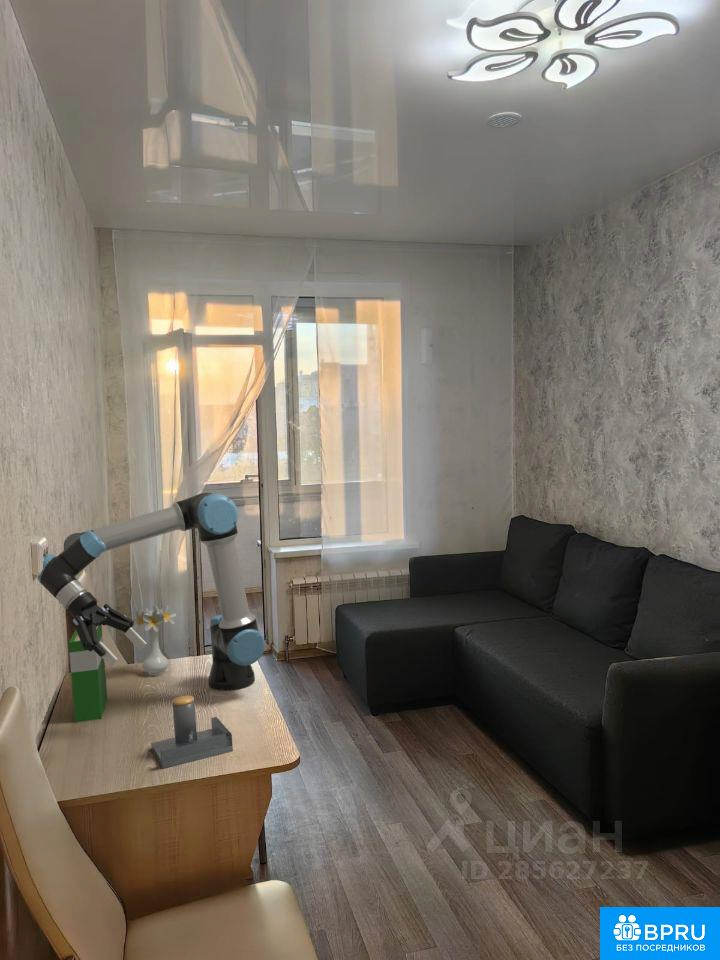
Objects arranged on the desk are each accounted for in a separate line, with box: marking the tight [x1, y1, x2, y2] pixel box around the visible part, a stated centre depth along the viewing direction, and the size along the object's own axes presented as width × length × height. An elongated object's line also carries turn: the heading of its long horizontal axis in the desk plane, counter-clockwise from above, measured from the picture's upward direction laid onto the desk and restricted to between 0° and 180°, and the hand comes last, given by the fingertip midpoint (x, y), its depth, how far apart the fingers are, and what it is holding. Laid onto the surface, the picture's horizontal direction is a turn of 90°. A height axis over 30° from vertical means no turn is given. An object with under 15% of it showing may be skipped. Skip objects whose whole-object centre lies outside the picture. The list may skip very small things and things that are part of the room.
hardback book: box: [68, 625, 108, 723], centre depth 225 cm, size 18×7×24 cm, turn 14°
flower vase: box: [123, 604, 177, 677], centre depth 258 cm, size 12×18×24 cm
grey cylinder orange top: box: [172, 695, 198, 745], centre depth 193 cm, size 6×6×12 cm
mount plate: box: [150, 716, 234, 769], centre depth 193 cm, size 18×14×4 cm
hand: (129, 654), depth 201 cm, fingers open, 13 cm apart
